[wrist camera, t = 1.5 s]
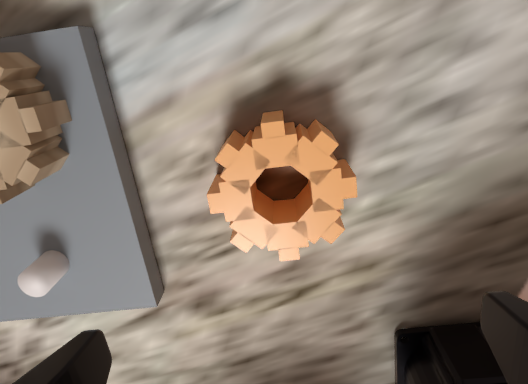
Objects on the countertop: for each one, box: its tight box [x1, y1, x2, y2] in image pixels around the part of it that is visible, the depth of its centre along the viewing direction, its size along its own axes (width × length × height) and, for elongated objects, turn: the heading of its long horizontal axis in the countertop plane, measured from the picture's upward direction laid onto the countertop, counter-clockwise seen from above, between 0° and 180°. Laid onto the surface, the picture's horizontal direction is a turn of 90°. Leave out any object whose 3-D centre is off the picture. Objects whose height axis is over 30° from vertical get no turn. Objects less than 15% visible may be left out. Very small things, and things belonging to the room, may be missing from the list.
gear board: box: [0, 26, 164, 322], centre depth 19 cm, size 15×10×4 cm, turn 8°
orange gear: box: [207, 110, 357, 261], centre depth 19 cm, size 7×7×3 cm
